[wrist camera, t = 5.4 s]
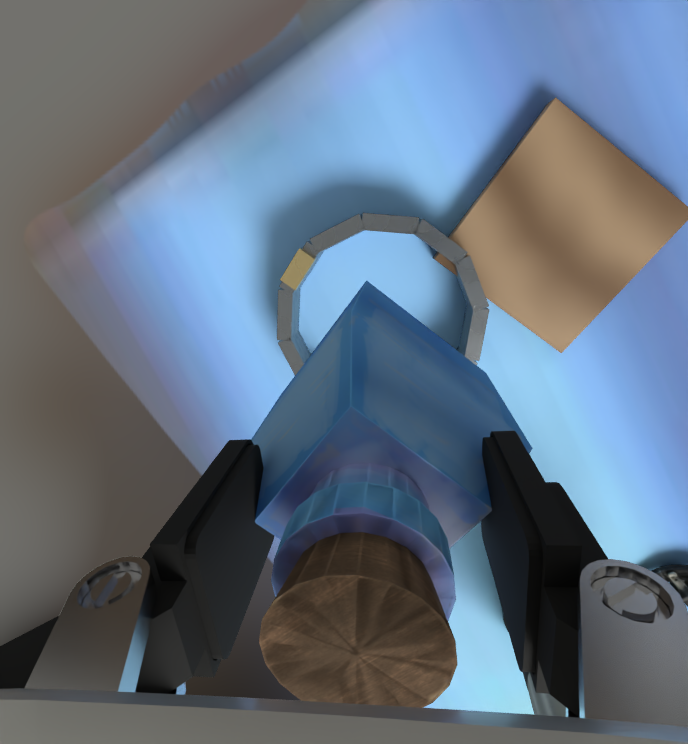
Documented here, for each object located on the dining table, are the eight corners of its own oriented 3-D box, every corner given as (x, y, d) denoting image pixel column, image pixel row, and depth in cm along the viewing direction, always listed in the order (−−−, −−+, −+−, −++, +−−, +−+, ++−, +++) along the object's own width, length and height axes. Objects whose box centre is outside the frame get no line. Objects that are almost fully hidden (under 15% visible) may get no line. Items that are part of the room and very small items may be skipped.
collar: (355, 170, 28) (351, 164, 25) (522, 295, 29) (536, 303, 26) (251, 337, 32) (237, 348, 29) (400, 437, 34) (401, 457, 31)
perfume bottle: (366, 280, 17) (307, 401, 5) (485, 372, 17) (657, 652, 6) (282, 393, 19) (109, 652, 7) (391, 471, 19) (387, 818, 8)
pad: (548, 103, 25) (555, 97, 24) (681, 213, 26) (695, 212, 25) (432, 257, 29) (434, 259, 28) (554, 348, 30) (561, 353, 29)
